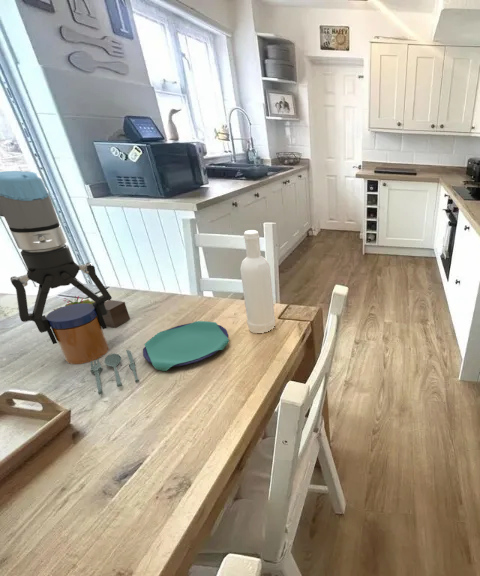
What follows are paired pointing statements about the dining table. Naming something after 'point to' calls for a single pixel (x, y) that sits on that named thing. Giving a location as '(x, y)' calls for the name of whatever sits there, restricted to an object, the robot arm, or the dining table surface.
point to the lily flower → (78, 302)
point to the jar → (82, 342)
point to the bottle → (257, 286)
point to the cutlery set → (173, 348)
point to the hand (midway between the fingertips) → (79, 333)
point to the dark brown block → (115, 313)
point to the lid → (71, 316)
